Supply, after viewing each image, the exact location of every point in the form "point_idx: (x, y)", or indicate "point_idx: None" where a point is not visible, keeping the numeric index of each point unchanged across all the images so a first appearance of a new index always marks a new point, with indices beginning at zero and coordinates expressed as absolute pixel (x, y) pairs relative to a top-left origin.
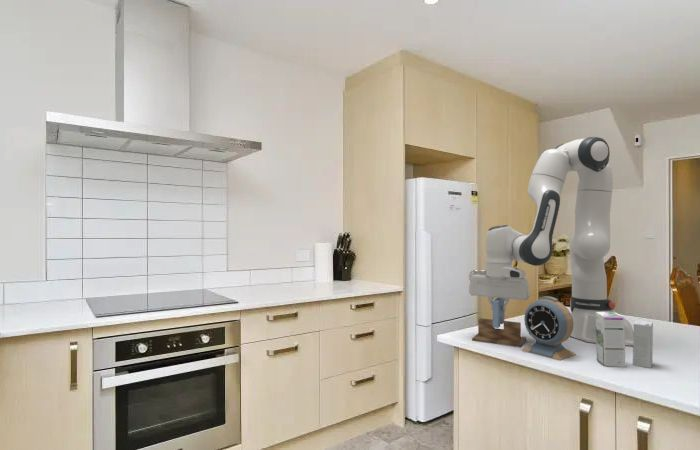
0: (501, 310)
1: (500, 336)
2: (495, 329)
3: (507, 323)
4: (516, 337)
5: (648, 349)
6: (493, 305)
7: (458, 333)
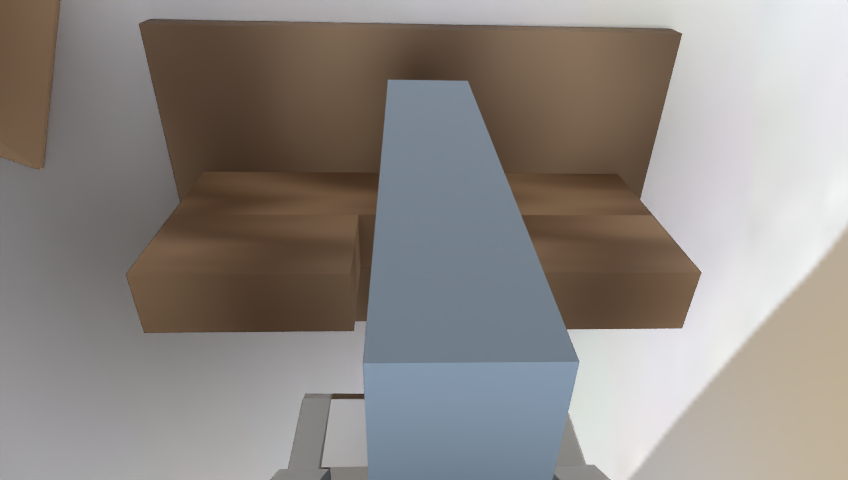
0: None
1: None
2: None
3: (299, 263)
4: (228, 186)
5: None
6: (518, 264)
7: (797, 235)
